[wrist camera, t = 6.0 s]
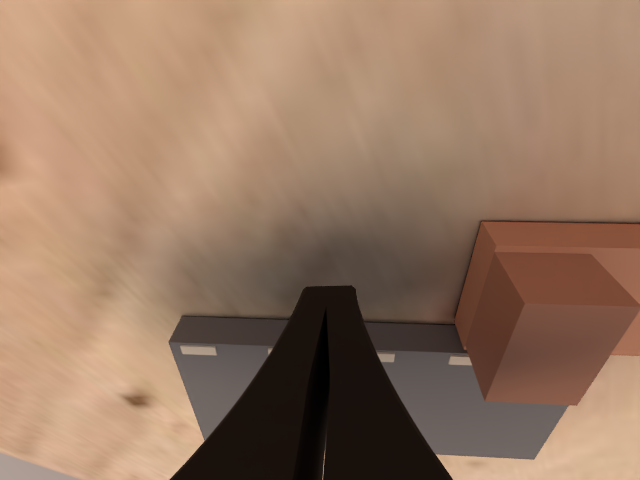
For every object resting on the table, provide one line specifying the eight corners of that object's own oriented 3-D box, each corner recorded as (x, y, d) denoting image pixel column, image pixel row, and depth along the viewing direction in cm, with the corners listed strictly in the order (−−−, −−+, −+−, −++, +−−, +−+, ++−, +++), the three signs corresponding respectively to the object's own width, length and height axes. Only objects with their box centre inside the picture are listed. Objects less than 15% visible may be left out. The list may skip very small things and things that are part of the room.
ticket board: (578, 329, 12) (600, 360, 11) (522, 430, 16) (534, 461, 15) (181, 316, 13) (167, 343, 12) (213, 415, 17) (204, 443, 16)
